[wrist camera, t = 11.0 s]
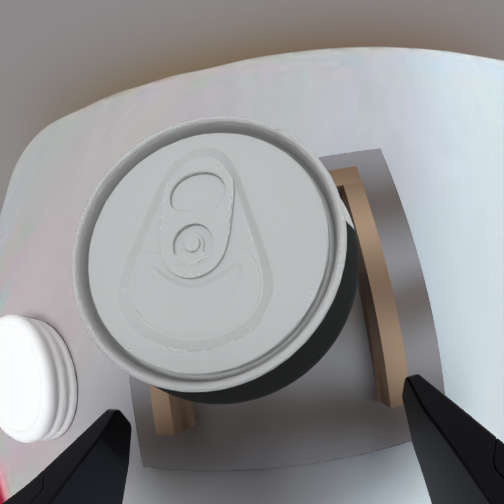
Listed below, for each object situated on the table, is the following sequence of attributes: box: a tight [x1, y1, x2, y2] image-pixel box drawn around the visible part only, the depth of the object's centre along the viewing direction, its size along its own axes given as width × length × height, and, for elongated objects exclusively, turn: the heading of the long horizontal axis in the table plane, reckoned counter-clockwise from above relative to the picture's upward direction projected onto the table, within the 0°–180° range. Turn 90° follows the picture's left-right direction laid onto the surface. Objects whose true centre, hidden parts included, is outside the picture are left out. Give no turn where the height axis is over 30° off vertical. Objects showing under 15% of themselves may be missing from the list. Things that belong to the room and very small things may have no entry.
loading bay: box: [129, 149, 445, 471], centre depth 16 cm, size 18×18×4 cm
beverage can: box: [72, 116, 359, 404], centre depth 11 cm, size 7×7×12 cm
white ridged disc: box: [0, 314, 77, 443], centre depth 18 cm, size 10×10×4 cm
